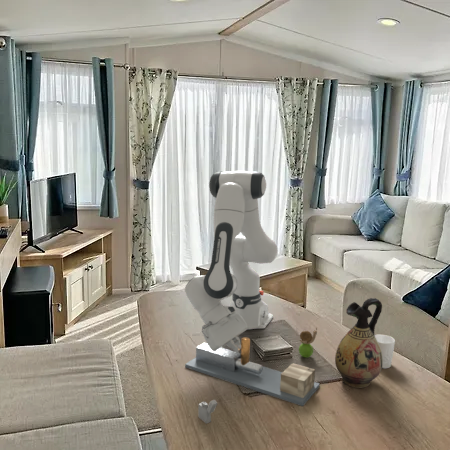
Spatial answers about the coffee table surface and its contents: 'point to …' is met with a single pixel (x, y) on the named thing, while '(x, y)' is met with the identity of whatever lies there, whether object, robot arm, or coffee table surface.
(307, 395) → the slate board
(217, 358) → the grey sleeve
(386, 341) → the white cup
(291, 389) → the birch socket
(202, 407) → the lighter
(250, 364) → the bolt with orange handle
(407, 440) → the coffee table surface
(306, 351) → the snail figurine
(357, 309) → the ceramic jug
